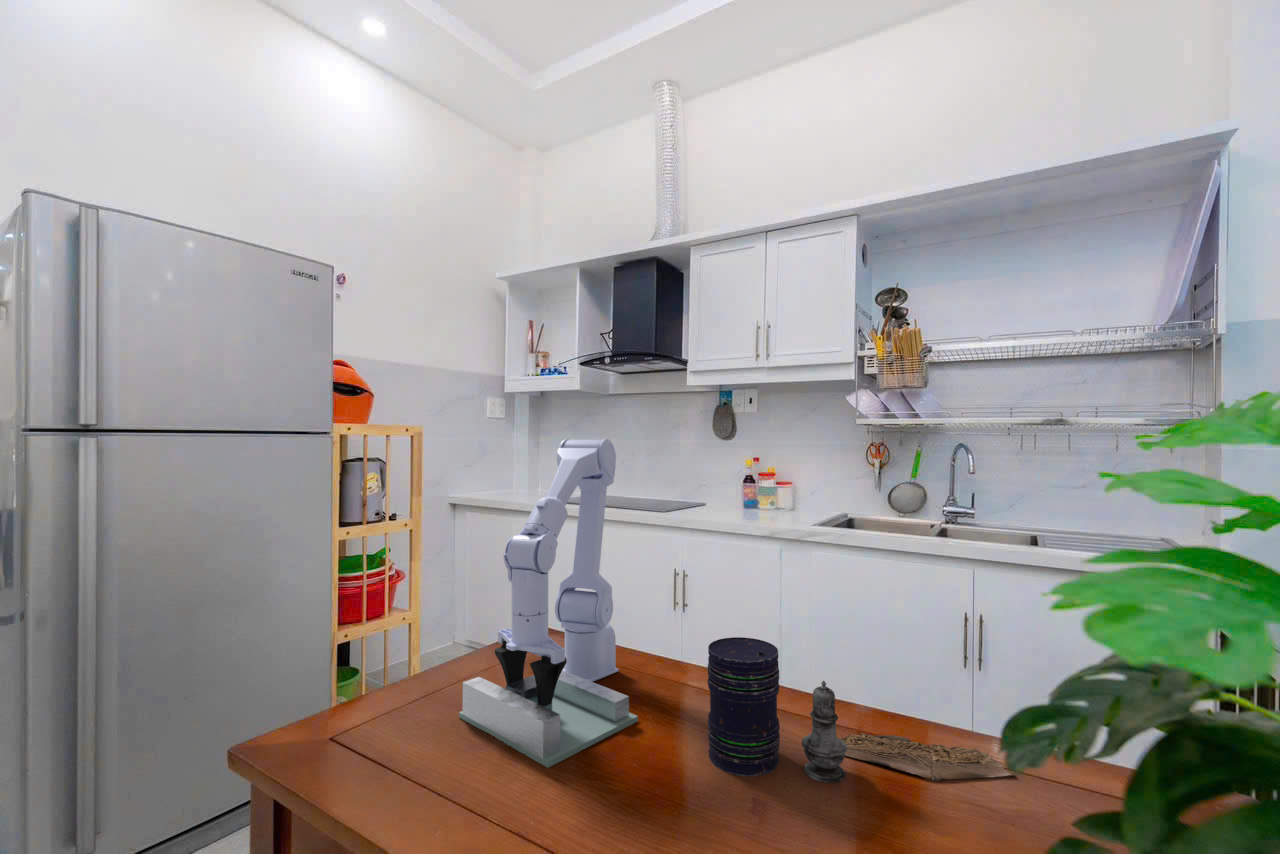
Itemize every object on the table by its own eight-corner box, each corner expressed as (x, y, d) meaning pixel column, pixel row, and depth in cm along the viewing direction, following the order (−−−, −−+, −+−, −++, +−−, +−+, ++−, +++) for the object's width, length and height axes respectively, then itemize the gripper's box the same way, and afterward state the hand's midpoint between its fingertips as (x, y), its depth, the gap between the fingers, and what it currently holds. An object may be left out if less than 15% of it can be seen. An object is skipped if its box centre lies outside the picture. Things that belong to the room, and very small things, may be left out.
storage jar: (693, 757, 84) (693, 649, 84) (733, 732, 91) (733, 632, 91) (755, 785, 77) (754, 667, 77) (793, 756, 84) (792, 648, 84)
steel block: (536, 704, 99) (536, 674, 99) (552, 712, 96) (552, 680, 96) (505, 717, 94) (505, 685, 94) (521, 725, 91) (521, 692, 92)
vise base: (547, 683, 109) (547, 650, 109) (637, 721, 95) (637, 683, 95) (459, 717, 96) (459, 680, 96) (547, 767, 81) (547, 724, 81)
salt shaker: (824, 789, 76) (823, 693, 76) (792, 766, 82) (791, 676, 82) (857, 776, 79) (856, 684, 79) (824, 755, 84) (824, 669, 84)
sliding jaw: (547, 681, 108) (547, 664, 108) (628, 715, 95) (628, 696, 95) (533, 686, 106) (533, 669, 106) (615, 722, 92) (615, 702, 92)
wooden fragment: (1006, 757, 84) (1006, 749, 84) (1026, 802, 74) (1025, 793, 74) (814, 727, 93) (814, 720, 93) (808, 763, 83) (808, 755, 83)
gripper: (482, 607, 97) (481, 692, 97) (538, 626, 88) (538, 721, 87) (517, 599, 103) (517, 679, 102) (575, 615, 93) (575, 704, 93)
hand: (529, 697), depth 95 cm, fingers open, 7 cm apart
